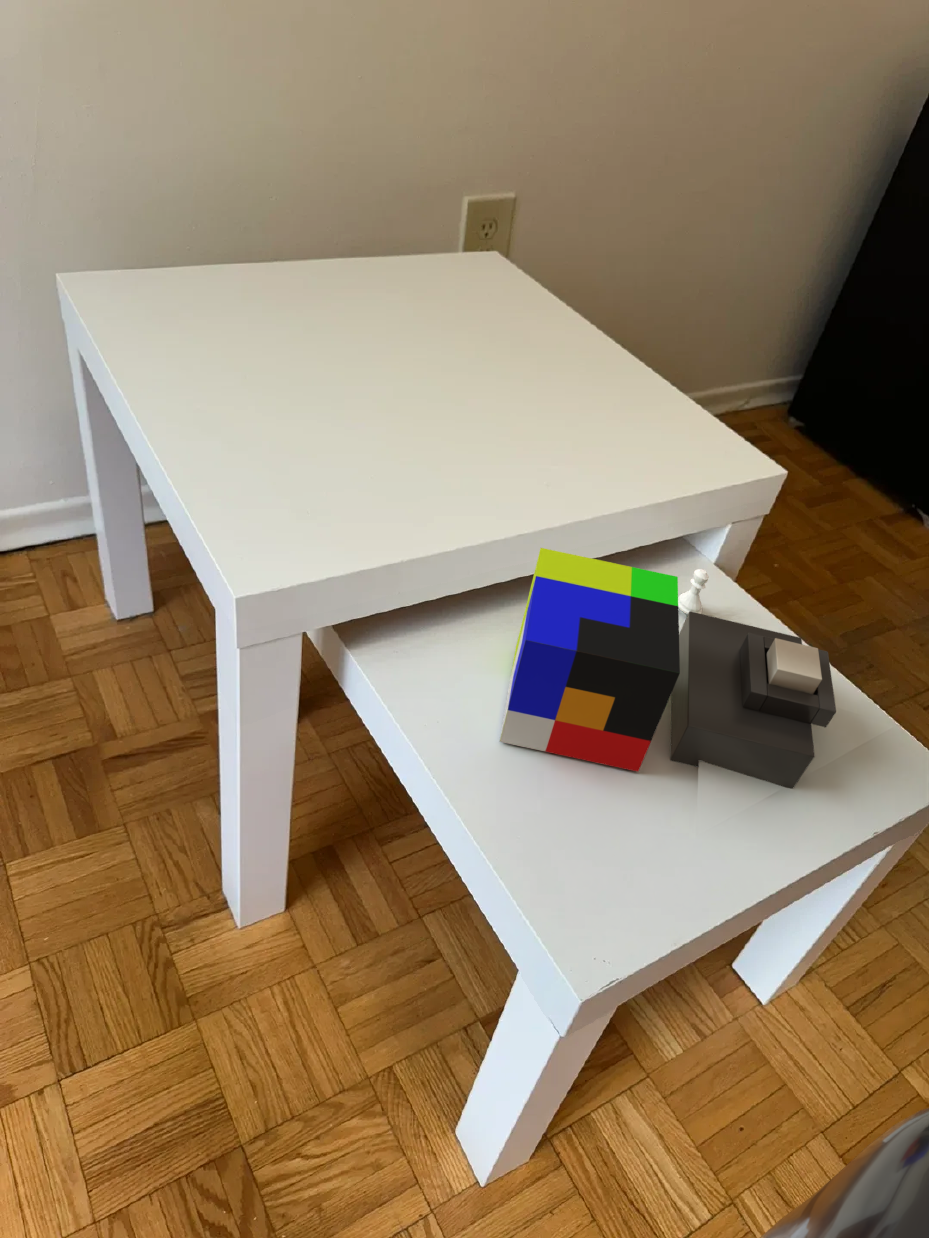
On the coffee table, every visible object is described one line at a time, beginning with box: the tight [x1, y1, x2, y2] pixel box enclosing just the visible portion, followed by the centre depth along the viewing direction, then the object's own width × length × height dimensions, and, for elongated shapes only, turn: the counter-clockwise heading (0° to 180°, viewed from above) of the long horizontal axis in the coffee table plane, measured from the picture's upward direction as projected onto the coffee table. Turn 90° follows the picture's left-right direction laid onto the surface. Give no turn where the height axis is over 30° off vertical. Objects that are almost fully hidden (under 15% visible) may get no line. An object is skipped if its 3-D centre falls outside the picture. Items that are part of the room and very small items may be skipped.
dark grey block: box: [669, 611, 837, 790], centre depth 70 cm, size 12×10×6 cm
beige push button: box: [766, 638, 822, 694], centre depth 67 cm, size 3×3×2 cm
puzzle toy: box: [499, 547, 680, 773], centre depth 66 cm, size 10×10×10 cm
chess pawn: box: [678, 568, 710, 615], centre depth 79 cm, size 3×2×4 cm
